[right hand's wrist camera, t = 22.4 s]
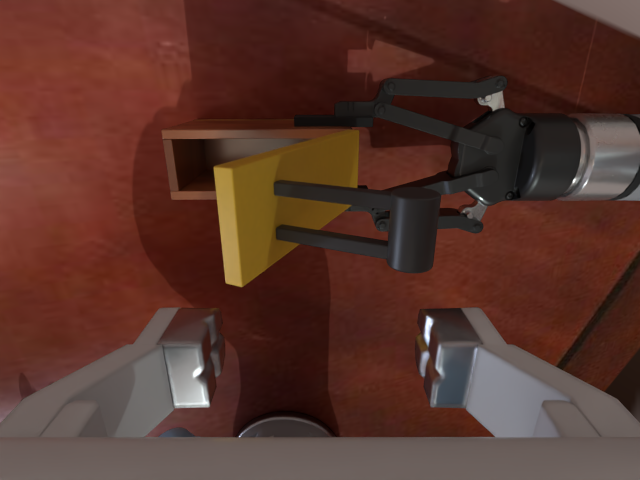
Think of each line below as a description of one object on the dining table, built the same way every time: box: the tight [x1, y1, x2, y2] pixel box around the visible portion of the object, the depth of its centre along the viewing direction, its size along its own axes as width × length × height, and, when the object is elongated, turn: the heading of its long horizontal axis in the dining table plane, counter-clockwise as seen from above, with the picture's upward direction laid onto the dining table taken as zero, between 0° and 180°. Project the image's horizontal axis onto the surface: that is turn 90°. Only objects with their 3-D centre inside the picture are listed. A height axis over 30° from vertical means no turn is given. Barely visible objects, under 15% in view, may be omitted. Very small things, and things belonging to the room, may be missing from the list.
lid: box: [214, 130, 441, 287], centre depth 22 cm, size 16×6×9 cm
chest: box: [161, 119, 353, 200], centre depth 36 cm, size 15×6×9 cm, turn 90°
